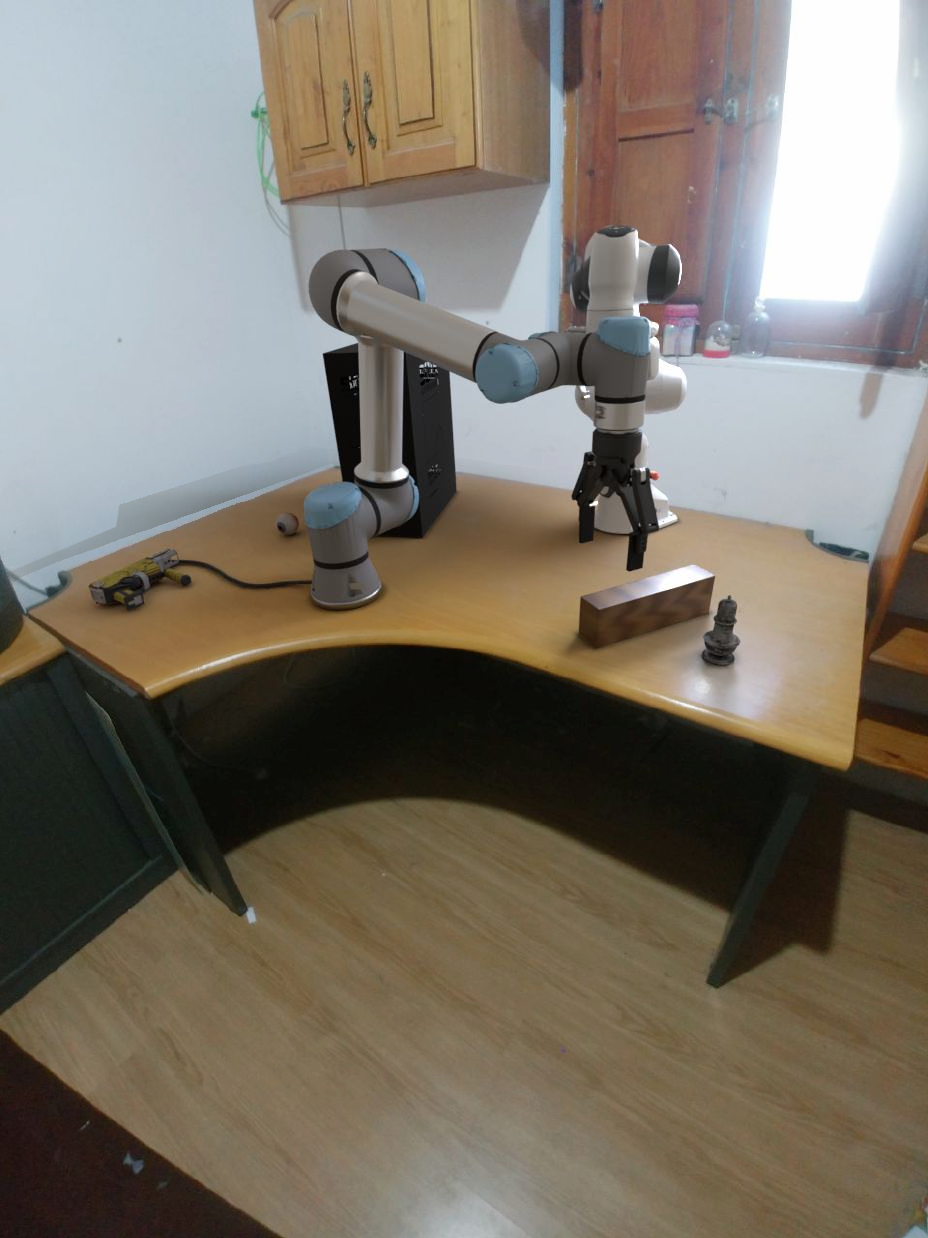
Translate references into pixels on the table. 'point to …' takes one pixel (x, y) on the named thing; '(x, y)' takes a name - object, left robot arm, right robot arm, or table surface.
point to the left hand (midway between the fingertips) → (608, 554)
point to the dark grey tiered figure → (722, 635)
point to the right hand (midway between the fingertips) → (604, 401)
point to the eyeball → (287, 523)
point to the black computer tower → (421, 431)
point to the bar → (644, 605)
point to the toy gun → (136, 580)
